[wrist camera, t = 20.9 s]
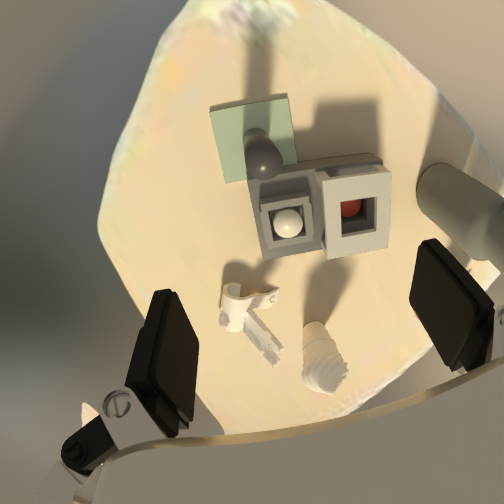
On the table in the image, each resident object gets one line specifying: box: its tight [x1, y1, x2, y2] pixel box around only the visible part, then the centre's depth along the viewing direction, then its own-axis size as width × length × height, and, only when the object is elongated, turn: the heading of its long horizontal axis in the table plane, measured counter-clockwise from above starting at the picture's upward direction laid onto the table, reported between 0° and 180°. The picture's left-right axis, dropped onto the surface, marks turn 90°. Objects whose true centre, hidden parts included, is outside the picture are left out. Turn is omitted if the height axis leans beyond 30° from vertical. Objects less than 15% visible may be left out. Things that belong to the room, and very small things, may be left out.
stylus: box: [243, 128, 283, 180], centre depth 30 cm, size 3×3×12 cm
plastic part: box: [219, 283, 284, 368], centre depth 46 cm, size 8×10×12 cm
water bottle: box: [416, 163, 504, 275], centre depth 28 cm, size 10×10×28 cm
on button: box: [272, 207, 303, 238], centre depth 37 cm, size 4×4×2 cm
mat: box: [209, 98, 298, 183], centre depth 36 cm, size 10×10×1 cm
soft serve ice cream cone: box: [301, 321, 349, 395], centre depth 49 cm, size 8×8×16 cm
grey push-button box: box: [246, 153, 391, 260], centre depth 38 cm, size 18×12×7 cm, turn 100°
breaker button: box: [340, 199, 361, 217], centre depth 39 cm, size 4×4×3 cm
